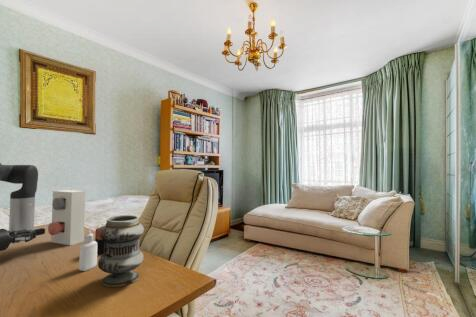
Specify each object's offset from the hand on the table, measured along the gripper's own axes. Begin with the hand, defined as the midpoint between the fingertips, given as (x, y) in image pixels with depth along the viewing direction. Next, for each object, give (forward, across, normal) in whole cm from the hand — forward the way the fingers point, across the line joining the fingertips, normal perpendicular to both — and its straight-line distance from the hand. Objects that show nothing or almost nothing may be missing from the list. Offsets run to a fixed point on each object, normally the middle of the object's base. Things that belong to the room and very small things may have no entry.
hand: (43, 230), depth 98 cm
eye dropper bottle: (-6, -33, +7) cm, 35 cm away
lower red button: (+7, 0, +3) cm, 7 cm away
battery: (+7, -26, +7) cm, 28 cm away
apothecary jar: (-8, -50, +8) cm, 51 cm away
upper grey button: (+8, 0, -7) cm, 11 cm away
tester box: (+10, 0, +7) cm, 12 cm away
